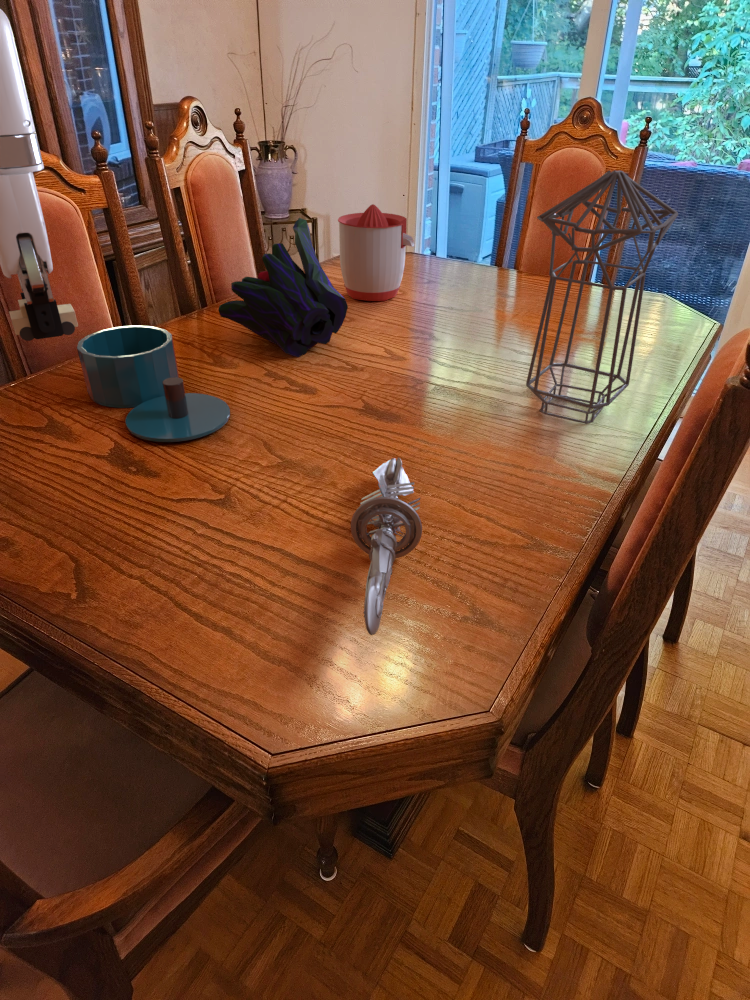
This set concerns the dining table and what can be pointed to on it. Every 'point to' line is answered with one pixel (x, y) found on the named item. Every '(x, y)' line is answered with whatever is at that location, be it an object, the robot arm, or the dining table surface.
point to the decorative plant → (289, 299)
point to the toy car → (23, 325)
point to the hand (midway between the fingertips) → (46, 329)
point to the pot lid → (177, 415)
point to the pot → (127, 364)
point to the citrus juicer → (373, 253)
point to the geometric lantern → (549, 219)
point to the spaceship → (385, 534)
